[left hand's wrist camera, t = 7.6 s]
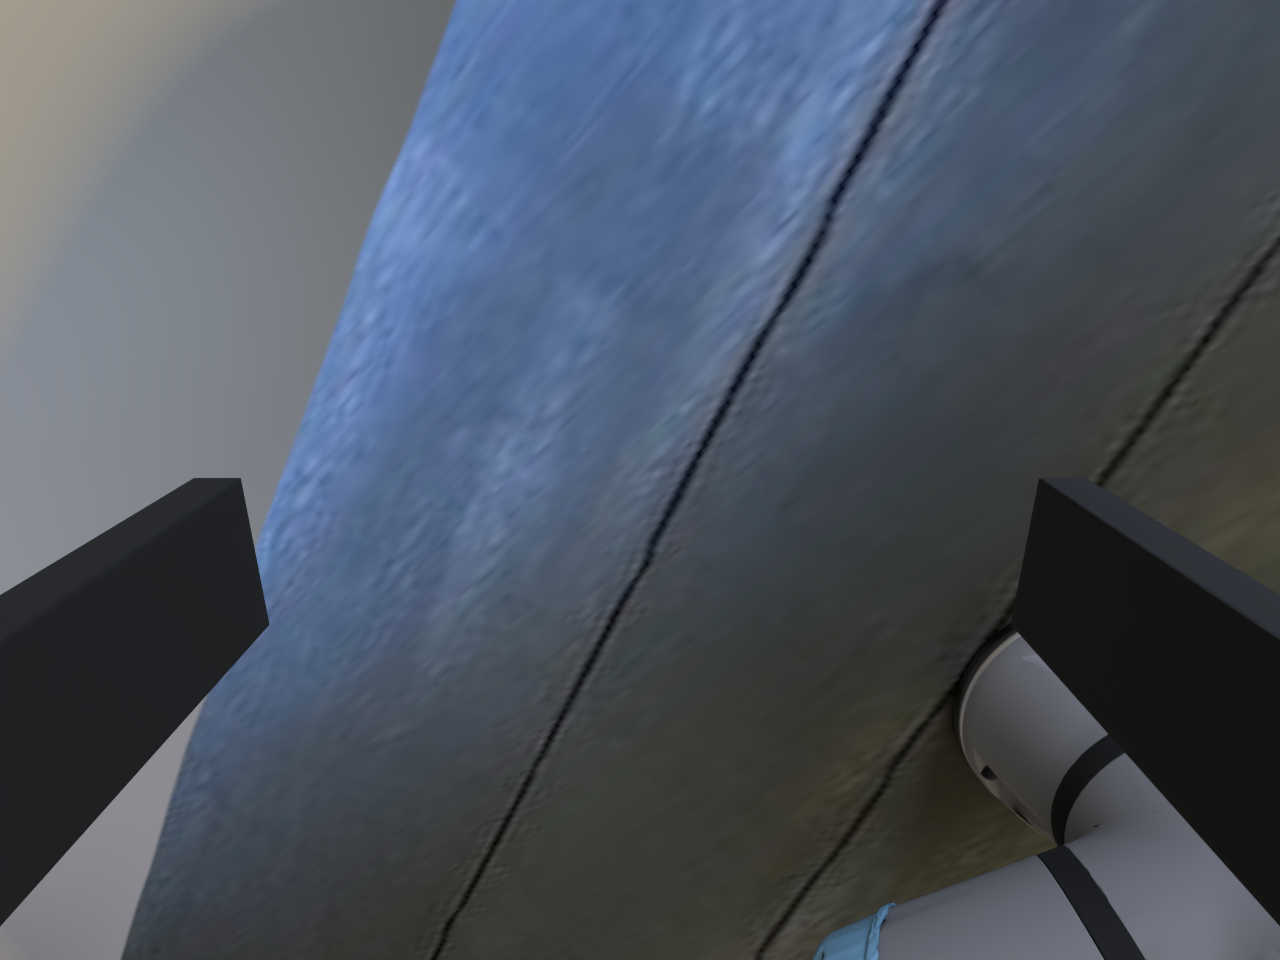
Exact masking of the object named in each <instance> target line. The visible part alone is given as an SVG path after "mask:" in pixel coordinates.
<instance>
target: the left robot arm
mask: <svg viewBox="0 0 1280 960" xmlns="http://www.w3.org/2000/svg"><path fill="white" fill-rule="evenodd" d="M268 626H269V620H268V615H267V610H266V605H265V600H264V595H263V590H262V585H261V579H260V574H259V569H258V564H257V559H256V554H255V549H254V544H253V539H252V534H251V528H250V523H249V518H248V513H247V508H246V503H245V498H244V493H243V488H242V482H241V478H193V479H192V480H190V481H188V482H187V483H185V484H184V485H182V486H180V487H179V488H177V489H175V490H174V491H172V492H170V493H169V494H167V495H165V496H164V497H162V498H160V499H159V500H157V501H155V502H154V503H152V504H151V505H149V506H147V507H145V508H144V509H142V510H140V511H139V512H137V513H136V514H134V515H132V516H131V517H129V518H127V519H126V520H124V521H122V522H121V523H119V524H117V525H116V526H114V527H112V528H111V529H109V530H107V531H106V532H104V533H102V534H101V535H99V536H97V537H96V538H94V539H93V540H91V541H89V542H87V543H86V544H84V545H82V546H81V547H79V548H78V549H76V550H74V551H73V552H71V553H69V554H68V555H66V556H64V557H63V558H61V559H59V560H58V561H56V562H54V563H53V564H51V565H49V566H48V567H46V568H44V569H43V570H41V571H39V572H38V573H36V574H35V575H33V576H31V577H29V578H28V579H26V580H24V581H23V582H21V583H20V584H18V585H16V586H15V587H13V588H11V589H10V590H8V591H6V592H5V593H3V594H1V595H0V926H1V925H2V924H3V923H4V922H5V920H6V919H7V918H8V917H9V916H10V915H11V914H12V913H13V911H14V910H15V909H16V908H17V907H18V906H19V905H20V904H21V902H22V901H23V900H24V899H25V898H26V897H27V896H28V895H29V893H30V892H31V891H32V890H33V889H34V888H35V887H36V886H37V885H38V883H39V882H40V881H41V880H42V879H43V878H44V877H45V875H46V874H47V873H48V872H49V871H50V870H51V869H52V868H53V867H54V865H55V864H56V863H57V862H58V861H59V860H60V859H61V858H62V856H63V855H64V854H65V853H66V852H67V851H68V850H69V849H70V848H71V846H72V845H73V844H74V843H75V842H76V841H77V840H78V839H79V837H80V836H81V835H82V834H83V833H84V832H85V831H86V830H87V828H88V827H89V826H90V825H91V824H92V823H93V822H94V821H95V819H96V818H97V817H98V816H99V815H100V814H101V813H102V812H103V810H104V809H105V808H106V807H107V806H108V805H109V804H110V803H111V802H112V800H113V799H114V798H115V797H116V796H117V795H118V794H119V793H120V791H121V790H122V789H123V788H124V787H125V786H126V785H127V784H128V782H129V781H130V780H131V779H132V778H133V777H134V776H135V775H136V774H137V772H138V771H139V770H140V769H141V768H142V767H143V766H144V765H145V763H146V762H147V761H148V760H149V759H150V758H151V757H152V756H153V754H154V753H155V752H156V751H157V750H158V749H159V748H160V747H161V745H162V744H163V743H164V742H165V741H166V740H167V739H168V738H169V737H170V735H171V734H172V733H173V732H174V731H175V730H176V729H177V728H178V726H179V725H180V724H181V723H182V722H183V721H184V720H185V719H186V717H187V716H188V715H189V714H190V713H191V712H192V711H193V710H194V708H195V707H196V706H197V705H198V704H199V703H200V702H201V701H202V700H203V698H204V697H205V696H206V695H207V694H208V693H209V692H210V691H211V689H212V688H213V687H214V686H215V685H216V684H217V683H218V682H219V680H220V679H221V678H222V677H223V676H224V675H225V674H226V673H227V671H228V670H229V669H230V668H231V667H232V666H233V665H234V664H235V663H236V661H237V660H238V659H239V658H240V657H241V656H242V655H243V654H244V652H245V651H246V650H247V649H248V648H249V647H250V646H251V645H252V643H253V642H254V641H255V640H256V639H257V638H258V637H259V636H260V634H261V633H262V632H263V631H264V630H265V629H266V628H267V627H268ZM953 724H954V731H955V735H956V739H957V742H958V745H959V747H960V749H961V751H962V753H963V755H964V756H965V758H966V760H967V761H968V763H969V765H970V766H971V768H972V770H973V772H974V773H975V774H976V776H977V777H978V778H979V779H980V780H981V781H982V783H983V784H984V785H985V786H986V787H987V788H988V790H989V791H990V792H991V793H992V794H993V795H995V796H996V797H997V798H998V799H999V800H1000V801H1002V802H1003V803H1004V804H1005V805H1007V806H1008V807H1009V808H1011V809H1012V810H1013V811H1014V812H1016V813H1017V814H1018V815H1019V816H1021V817H1022V818H1023V819H1024V820H1026V821H1027V822H1028V823H1029V824H1031V825H1032V826H1033V827H1035V828H1036V829H1037V830H1038V831H1040V832H1041V833H1042V834H1043V835H1045V836H1046V837H1047V838H1048V839H1050V840H1051V841H1052V842H1053V843H1055V844H1056V845H1057V847H1056V848H1054V849H1051V850H1048V851H1046V852H1043V853H1040V854H1037V855H1033V856H1030V857H1028V858H1025V859H1022V860H1019V861H1017V862H1014V863H1011V864H1009V865H1006V866H1003V867H1000V868H998V869H995V870H992V871H989V872H987V873H984V874H981V875H978V876H976V877H973V878H970V879H967V880H965V881H962V882H959V883H957V884H954V885H951V886H948V887H946V888H943V889H940V890H937V891H935V892H932V893H929V894H926V895H924V896H921V897H918V898H916V899H913V900H910V901H907V902H904V903H901V904H898V905H896V904H895V903H888V904H886V905H884V906H882V907H881V908H880V909H879V910H878V912H877V913H875V914H872V915H870V916H868V917H866V918H863V919H861V920H859V921H857V922H854V923H852V924H850V925H848V926H846V927H843V928H841V929H839V930H836V931H834V932H832V933H831V934H829V935H828V936H827V937H826V938H825V939H824V940H823V941H822V942H821V943H820V945H819V946H818V948H817V949H816V952H815V954H814V957H813V960H1280V595H1279V594H1277V593H1275V592H1274V591H1272V590H1270V589H1269V588H1267V587H1265V586H1264V585H1262V584H1260V583H1259V582H1257V581H1256V580H1254V579H1252V578H1251V577H1249V576H1247V575H1246V574H1244V573H1242V572H1241V571H1239V570H1237V569H1236V568H1234V567H1232V566H1231V565H1229V564H1227V563H1226V562H1224V561H1222V560H1221V559H1219V558H1217V557H1216V556H1214V555H1212V554H1211V553H1209V552H1207V551H1206V550H1204V549H1202V548H1201V547H1199V546H1198V545H1196V544H1194V543H1193V542H1191V541H1189V540H1188V539H1186V538H1184V537H1183V536H1181V535H1179V534H1178V533H1176V532H1174V531H1173V530H1171V529H1169V528H1168V527H1166V526H1164V525H1163V524H1161V523H1159V522H1158V521H1156V520H1154V519H1153V518H1151V517H1149V516H1148V515H1146V514H1145V513H1143V512H1141V511H1140V510H1138V509H1136V508H1135V507H1133V506H1131V505H1130V504H1128V503H1126V502H1125V501H1123V500H1121V499H1120V498H1118V497H1116V496H1115V495H1113V494H1111V493H1110V492H1108V491H1106V490H1105V489H1103V488H1101V487H1100V486H1098V485H1096V484H1095V483H1093V482H1092V481H1090V480H1088V479H1087V478H1039V482H1038V487H1037V493H1036V498H1035V503H1034V508H1033V513H1032V518H1031V523H1030V528H1029V533H1028V539H1027V544H1026V549H1025V554H1024V559H1023V564H1022V569H1021V574H1020V579H1019V585H1018V590H1017V595H1016V600H1015V605H1014V610H1013V615H1012V620H1011V624H1010V625H1008V626H1007V627H1005V628H1004V629H1003V630H1001V631H1000V632H999V633H998V634H997V635H995V636H994V637H993V638H992V639H991V640H990V641H989V642H988V643H987V644H986V645H985V646H984V647H983V648H982V649H981V650H980V651H979V653H978V654H977V655H976V656H975V658H974V659H973V661H972V662H971V663H970V665H969V666H968V668H967V670H966V672H965V674H964V675H963V678H962V680H961V682H960V684H959V687H958V690H957V693H956V697H955V702H954V711H953ZM1013 811H1012V812H1013ZM1018 815H1017V816H1018ZM1019 816H1018V817H1019ZM1023 819H1022V820H1023ZM1024 820H1023V821H1024ZM1024 822H1025V821H1024ZM1029 824H1028V825H1029ZM1029 826H1030V825H1029ZM1033 829H1034V828H1033ZM1034 830H1035V829H1034ZM1035 831H1036V830H1035ZM1039 834H1040V833H1039ZM1040 835H1041V834H1040Z"/></svg>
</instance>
